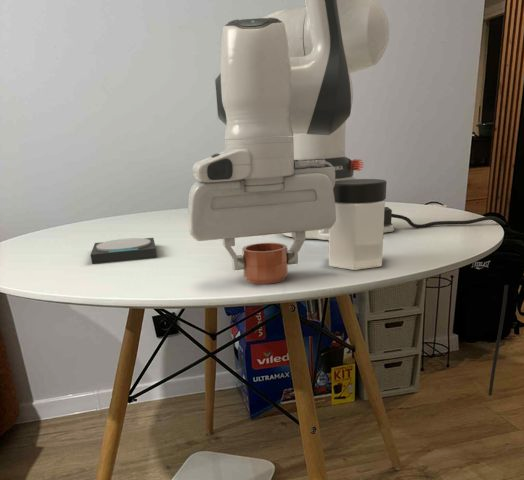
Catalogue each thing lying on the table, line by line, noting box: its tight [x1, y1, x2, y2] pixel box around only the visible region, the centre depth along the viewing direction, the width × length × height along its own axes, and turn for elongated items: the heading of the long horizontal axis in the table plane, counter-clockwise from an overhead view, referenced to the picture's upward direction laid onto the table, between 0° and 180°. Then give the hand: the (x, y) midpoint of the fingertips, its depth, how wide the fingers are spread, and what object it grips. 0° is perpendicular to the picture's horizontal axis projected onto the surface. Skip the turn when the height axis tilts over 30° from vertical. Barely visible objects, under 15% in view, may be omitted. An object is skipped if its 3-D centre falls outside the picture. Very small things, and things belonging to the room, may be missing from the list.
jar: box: [328, 178, 388, 271], centre depth 75 cm, size 9×8×12 cm
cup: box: [241, 242, 289, 285], centre depth 71 cm, size 6×6×4 cm
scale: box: [90, 237, 158, 265], centre depth 91 cm, size 11×11×2 cm
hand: (265, 266), depth 71 cm, fingers closed on cup, 6 cm apart
